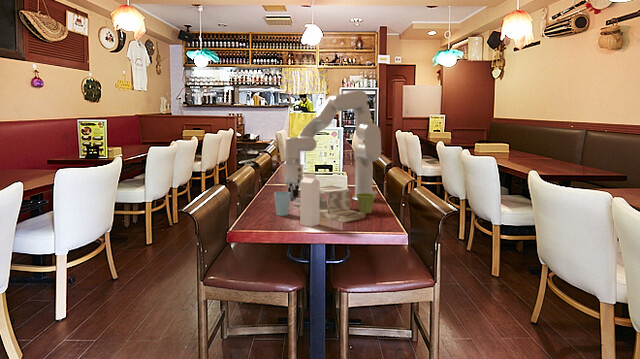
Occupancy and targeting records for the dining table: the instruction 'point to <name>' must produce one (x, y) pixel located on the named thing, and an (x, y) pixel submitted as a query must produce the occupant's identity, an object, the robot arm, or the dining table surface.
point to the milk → (309, 200)
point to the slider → (321, 203)
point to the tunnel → (338, 205)
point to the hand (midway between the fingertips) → (293, 196)
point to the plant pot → (365, 202)
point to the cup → (282, 203)
